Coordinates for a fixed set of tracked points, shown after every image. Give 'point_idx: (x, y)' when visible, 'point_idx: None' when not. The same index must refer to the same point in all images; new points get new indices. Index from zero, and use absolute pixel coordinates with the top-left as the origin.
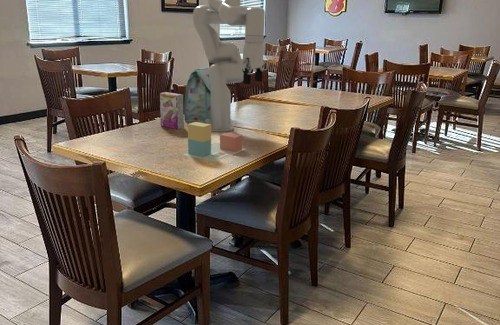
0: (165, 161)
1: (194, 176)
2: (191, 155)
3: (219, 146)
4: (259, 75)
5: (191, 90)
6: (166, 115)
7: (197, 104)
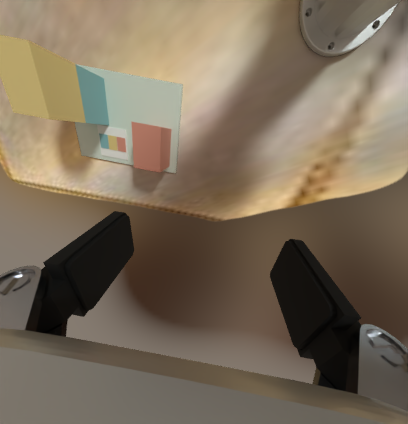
0: None
1: (22, 156)
2: None
3: (161, 113)
4: (289, 306)
5: None
6: None
7: None
